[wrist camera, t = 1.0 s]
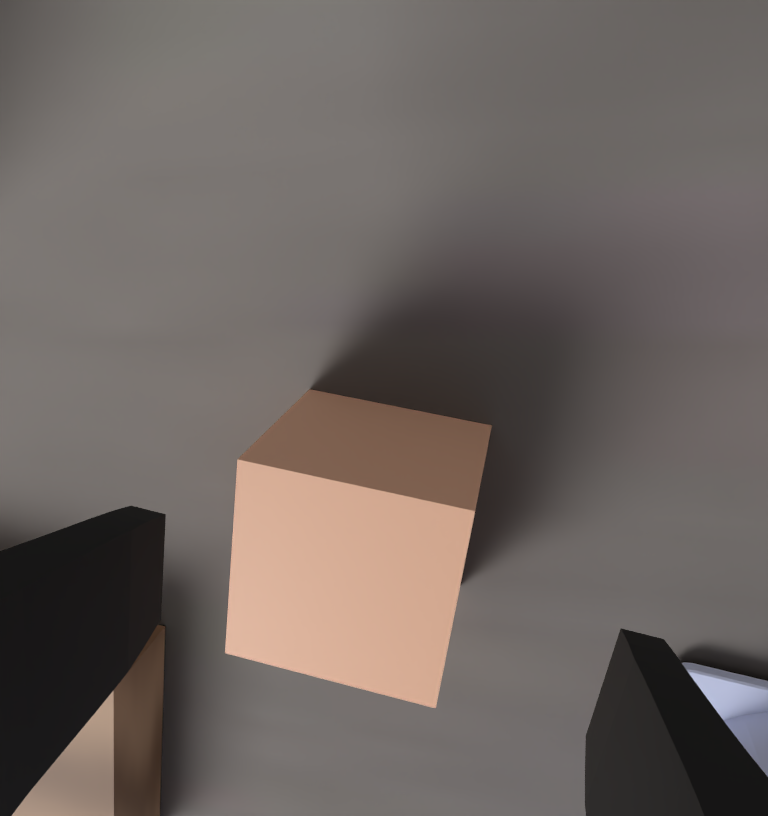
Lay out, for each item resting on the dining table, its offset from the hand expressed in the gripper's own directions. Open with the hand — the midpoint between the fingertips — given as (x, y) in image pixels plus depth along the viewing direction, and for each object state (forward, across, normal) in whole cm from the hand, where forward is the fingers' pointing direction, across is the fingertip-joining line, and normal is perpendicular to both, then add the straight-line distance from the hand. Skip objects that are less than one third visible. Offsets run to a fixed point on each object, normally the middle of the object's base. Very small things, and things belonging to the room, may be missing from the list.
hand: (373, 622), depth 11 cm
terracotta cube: (+9, +1, +2) cm, 9 cm away
